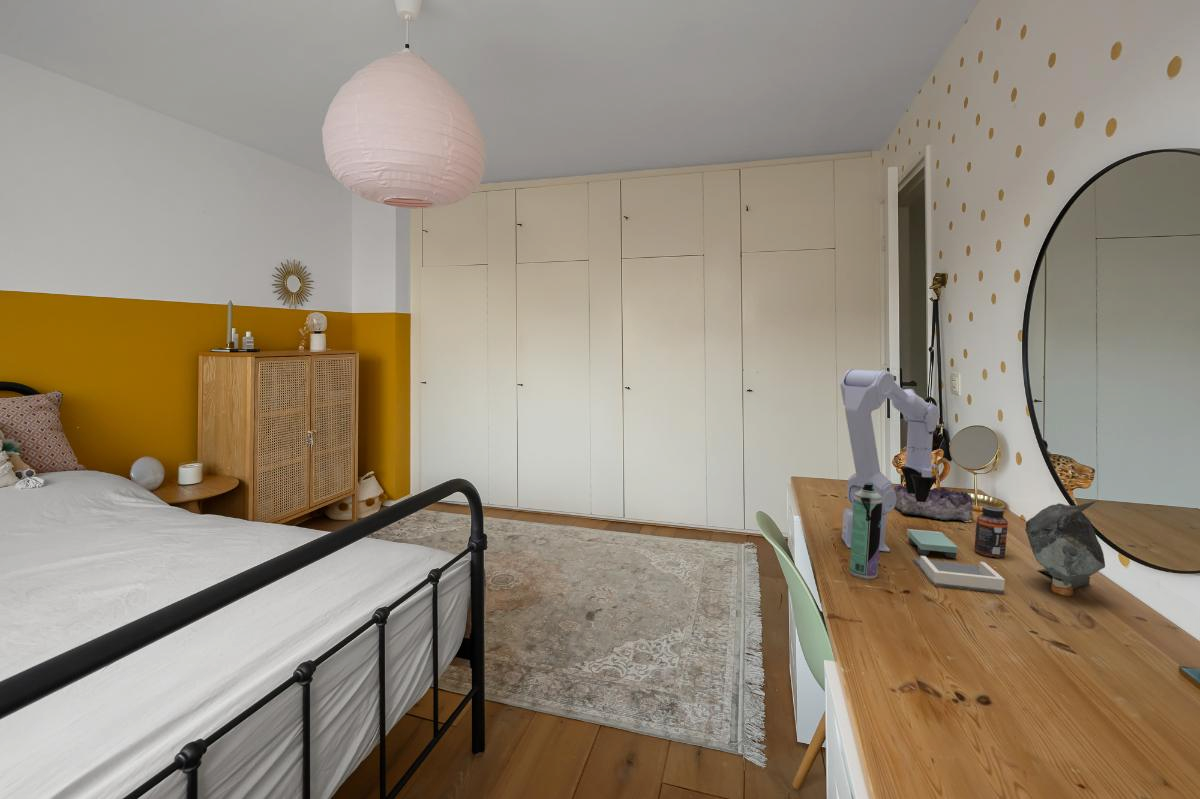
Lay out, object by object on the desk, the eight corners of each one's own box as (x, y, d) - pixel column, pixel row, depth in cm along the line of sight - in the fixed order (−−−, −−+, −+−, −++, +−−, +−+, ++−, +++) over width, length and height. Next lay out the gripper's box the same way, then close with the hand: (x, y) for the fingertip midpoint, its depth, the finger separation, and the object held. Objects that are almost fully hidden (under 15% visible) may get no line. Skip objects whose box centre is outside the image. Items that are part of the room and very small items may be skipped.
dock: (933, 586, 108) (934, 572, 108) (911, 559, 122) (912, 546, 122) (1003, 594, 105) (1004, 579, 105) (972, 565, 119) (973, 552, 119)
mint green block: (919, 556, 124) (920, 543, 123) (905, 541, 134) (906, 528, 133) (957, 560, 122) (958, 547, 121) (941, 544, 132) (942, 532, 131)
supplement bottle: (1005, 561, 122) (1009, 513, 121) (973, 554, 125) (977, 508, 124) (1004, 553, 126) (1008, 507, 125) (974, 547, 130) (978, 503, 129)
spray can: (881, 580, 111) (887, 487, 109) (853, 577, 112) (858, 486, 110) (873, 569, 116) (878, 481, 114) (846, 567, 117) (851, 479, 115)
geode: (968, 515, 157) (973, 483, 154) (975, 531, 146) (981, 498, 144) (891, 502, 165) (894, 473, 163) (892, 518, 155) (896, 486, 153)
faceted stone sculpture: (998, 578, 112) (1006, 496, 110) (1044, 568, 117) (1052, 490, 116) (1079, 610, 99) (1088, 517, 97) (1126, 597, 104) (1136, 509, 102)
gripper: (946, 453, 130) (943, 506, 132) (927, 442, 144) (924, 491, 145) (914, 452, 132) (911, 504, 133) (898, 441, 146) (895, 489, 147)
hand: (916, 497), depth 140 cm, fingers open, 7 cm apart
